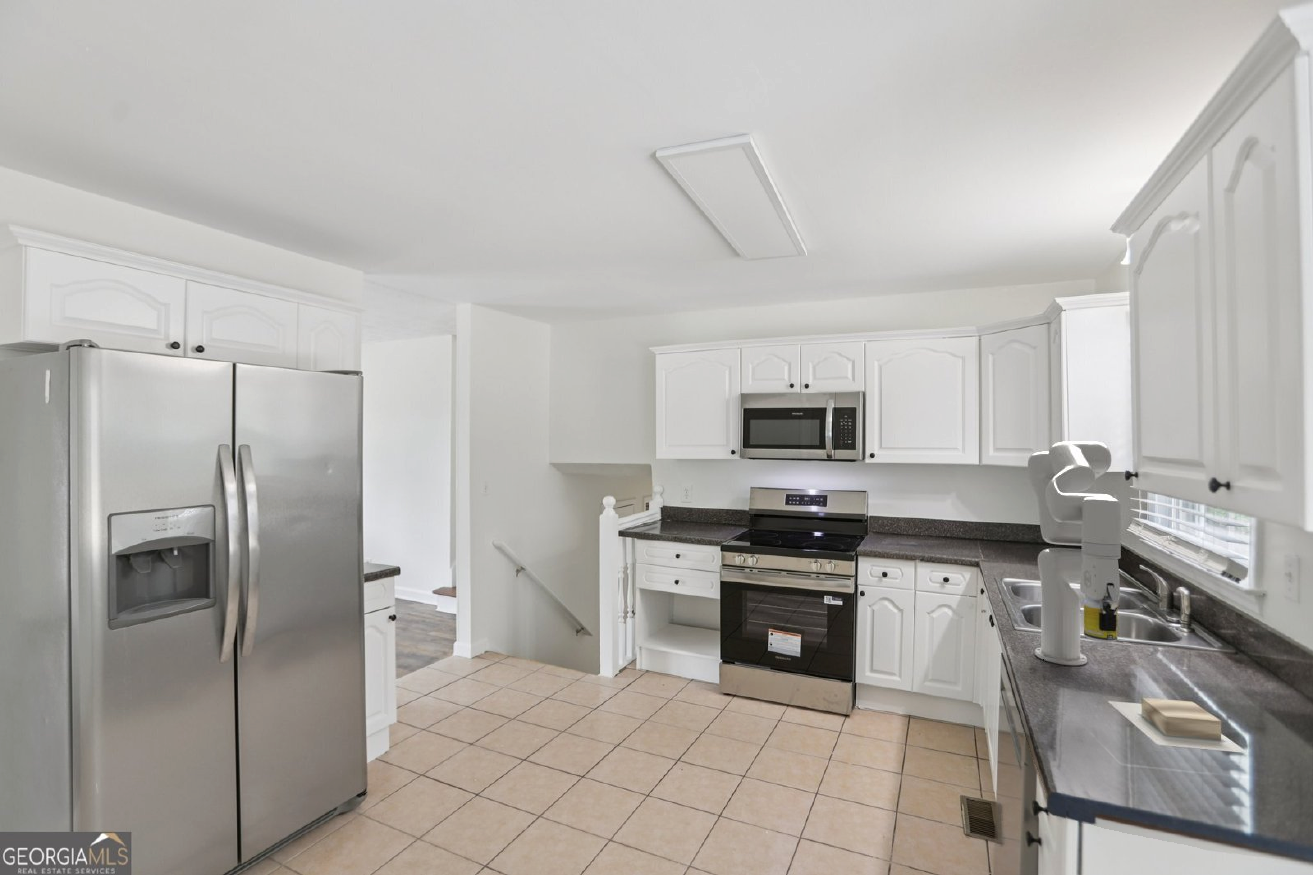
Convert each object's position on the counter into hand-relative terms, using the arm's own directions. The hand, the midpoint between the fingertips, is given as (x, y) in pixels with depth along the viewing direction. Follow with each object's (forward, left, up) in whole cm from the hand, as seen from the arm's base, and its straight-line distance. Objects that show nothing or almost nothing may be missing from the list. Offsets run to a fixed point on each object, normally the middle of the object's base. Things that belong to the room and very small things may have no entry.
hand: (1100, 625), depth 148 cm
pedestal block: (+7, +12, -19) cm, 24 cm away
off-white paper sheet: (+6, +11, -20) cm, 24 cm away
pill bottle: (0, 0, -3) cm, 3 cm away
